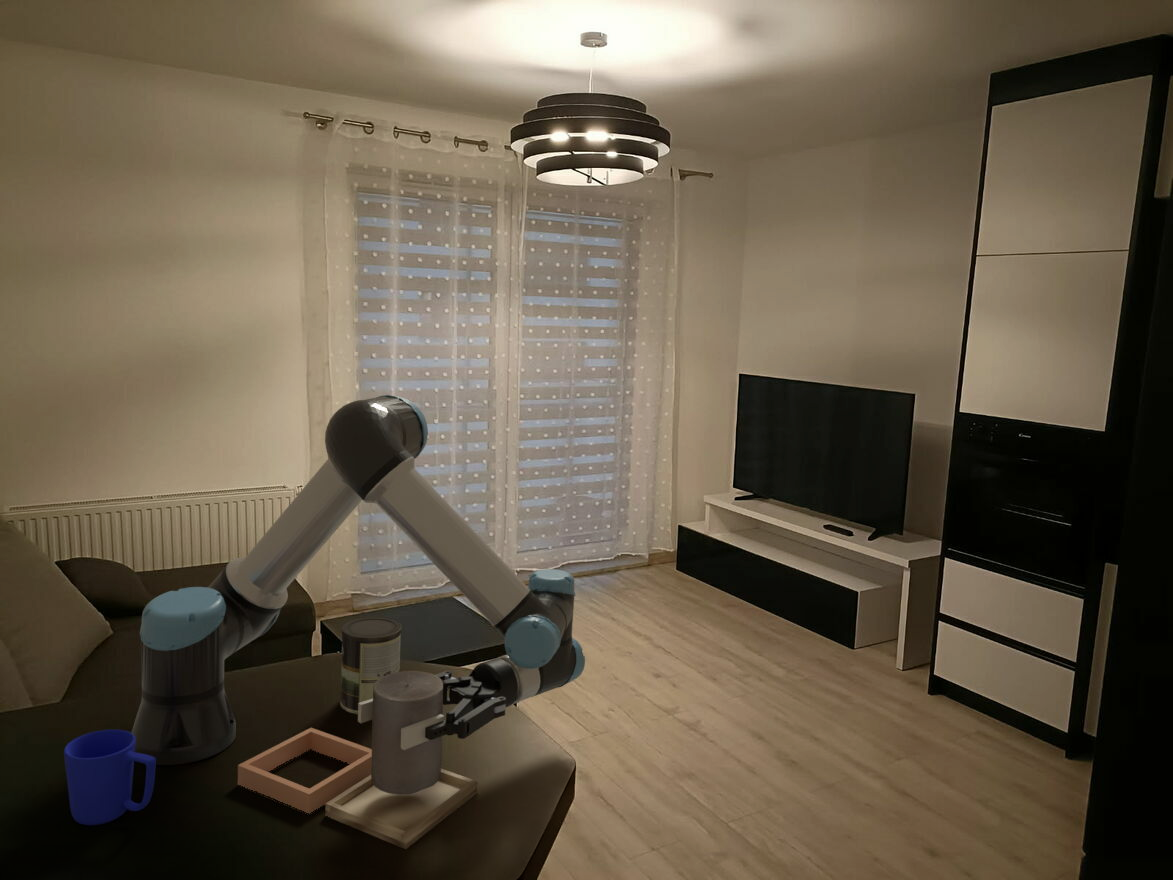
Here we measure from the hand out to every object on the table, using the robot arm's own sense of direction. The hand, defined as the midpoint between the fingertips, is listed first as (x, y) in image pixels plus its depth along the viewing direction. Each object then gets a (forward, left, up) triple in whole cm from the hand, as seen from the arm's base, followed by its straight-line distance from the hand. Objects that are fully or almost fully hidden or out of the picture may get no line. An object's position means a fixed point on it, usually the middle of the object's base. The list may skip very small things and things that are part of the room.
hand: (380, 725), depth 113 cm
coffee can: (-25, +26, -13) cm, 39 cm away
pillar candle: (+1, +4, -9) cm, 10 cm away
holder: (-15, +2, -13) cm, 20 cm away
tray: (+1, +4, -13) cm, 14 cm away
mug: (-29, -19, -13) cm, 37 cm away
